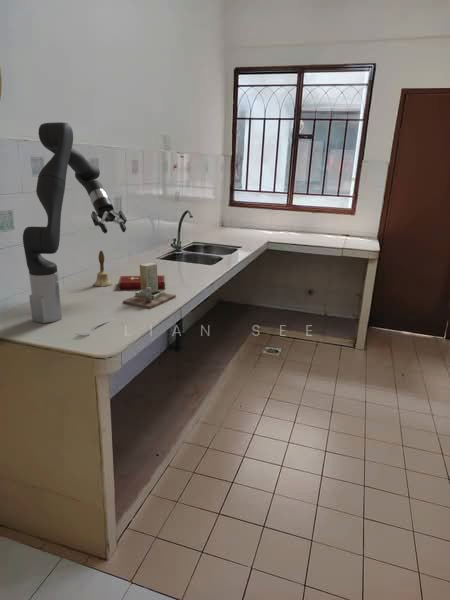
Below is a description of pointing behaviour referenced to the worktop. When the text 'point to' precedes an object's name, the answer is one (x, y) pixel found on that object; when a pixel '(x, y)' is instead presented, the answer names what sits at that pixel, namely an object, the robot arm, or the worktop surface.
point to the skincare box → (149, 277)
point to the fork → (95, 327)
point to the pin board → (148, 305)
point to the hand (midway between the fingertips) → (115, 231)
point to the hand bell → (102, 273)
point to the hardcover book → (137, 282)
